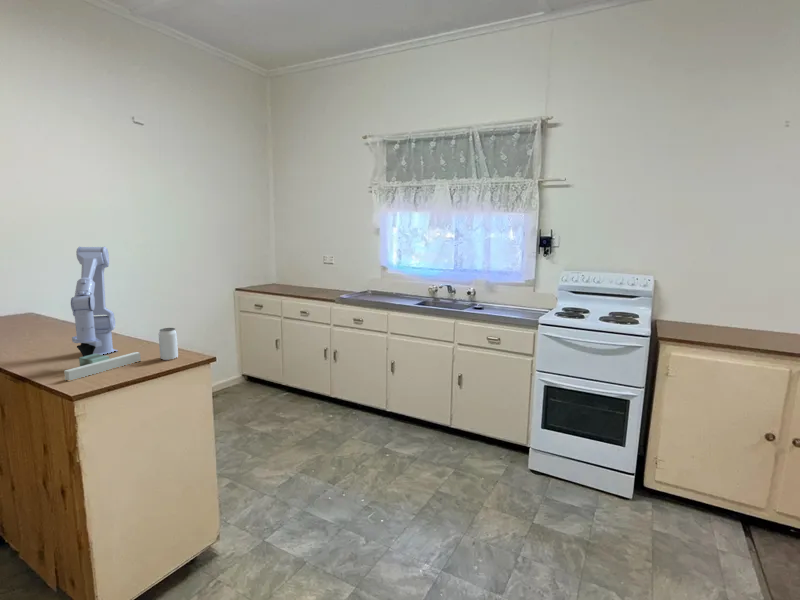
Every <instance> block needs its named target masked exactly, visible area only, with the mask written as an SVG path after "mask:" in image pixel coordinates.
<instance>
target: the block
mask: <svg viewBox="0 0 800 600" xmlns="http://www.w3.org/2000/svg"><path fill="white" fill-rule="evenodd" d="M107 359H110V356H109V355H106V354H104V355H100V354H92V355H88V356H83V355H82V356H79V357H78V360H79V361H78V362H79V363H78V364H79V367H80V366H84V365H88V364H92V363H96V362H100V361H103V360H107Z"/></svg>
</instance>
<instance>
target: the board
mask: <svg viewBox="0 0 800 600" xmlns="http://www.w3.org/2000/svg"><path fill="white" fill-rule="evenodd" d="M141 358H142V357H141V352H138V351H136V352H135V351H133V352H131V353H127V354H123V355H120V356H119V355H118V356H116V357H112V358H109V359H107V360H103V361H100V362H96V363H92V364H88V365H84V366H80V365H79V366H77V367H73V368H69V369H65V370H63V371H64V373H63V374H64V380H65V381H66V380H73V379H77V378H80V379H82V378H81V377H84V378H86V377H85V376H87V377H89V376H88V375H91V376H93V375H92V374H94V375H97V374H96V373H98V374H100V373H99V372H102V373H104V372H103V371H105V372H107V371H106V370H109V369H112V368H116V367H119V368H121V367H120V366H123V367H125V366H124V365H126V366H128V365H127V364H130V365H132V364H131V363H133V364H135V363H134V362H137V361H141V362H142V359H141ZM137 363H138V362H137ZM116 369H117V368H116ZM112 370H113V369H112ZM109 371H110V370H109ZM77 380H78V379H77ZM73 381H74V380H73Z"/></svg>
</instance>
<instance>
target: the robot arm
mask: <svg viewBox="0 0 800 600" xmlns="http://www.w3.org/2000/svg"><path fill="white" fill-rule="evenodd" d="M109 256H110V255H109V251H108V248H107V247H106V246H78V247H77V248H76V259H77V261H78V262H79V265H81V274H80V275H81V276H80V279H78V280H76V281H77V282H76V286H75V292H74V296H73V297H70V309H71V310H72V315H73V317H74V323H75V332H76V336H75V335H74V336H72V337H71V341H72V343H74V344H78V345H77V346H76V348H77V349H78V350H79V352H80V354H81V356H82V357H83V356H88V355H92V354H100V355H103V354H104V355H108V354H112V353H115V352H114V351H116V352H118V351H119V350H118V349H115V348H114V347H113V344H114V343H113V335H112V331H114V329H115V328H116V319H115V313H114V312H113V310H111V309H109V308H107V307H106V290H105V288H106V287H105V269H106V268H108V267H109V265H110V257H109ZM111 352H112V353H111ZM107 353H108V354H107Z"/></svg>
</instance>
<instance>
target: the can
mask: <svg viewBox="0 0 800 600" xmlns="http://www.w3.org/2000/svg"><path fill="white" fill-rule="evenodd" d="M158 345H159V355H160V356H159V357H160V360H161V359H163V360H162V361H170V360H169V359H174V358H176V357H177V358H178V357H179V349H178V346H179V345H178V334H177V331H176V327H175V328H174V327H165V328H160V329H159V332H158ZM177 358H176V359H177ZM174 360H175V359H174Z"/></svg>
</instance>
